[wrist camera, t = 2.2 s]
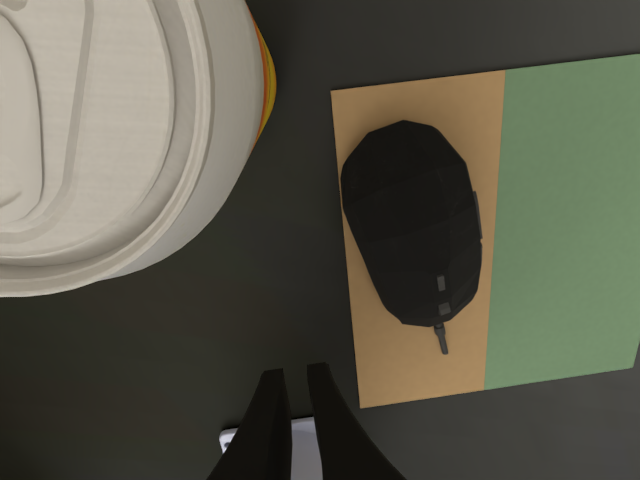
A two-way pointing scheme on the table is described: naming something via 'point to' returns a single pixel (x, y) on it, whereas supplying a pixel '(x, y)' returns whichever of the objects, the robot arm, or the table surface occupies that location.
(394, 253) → the gaming mouse
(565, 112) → the desk mat
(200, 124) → the beer can
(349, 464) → the robot arm
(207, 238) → the table surface
